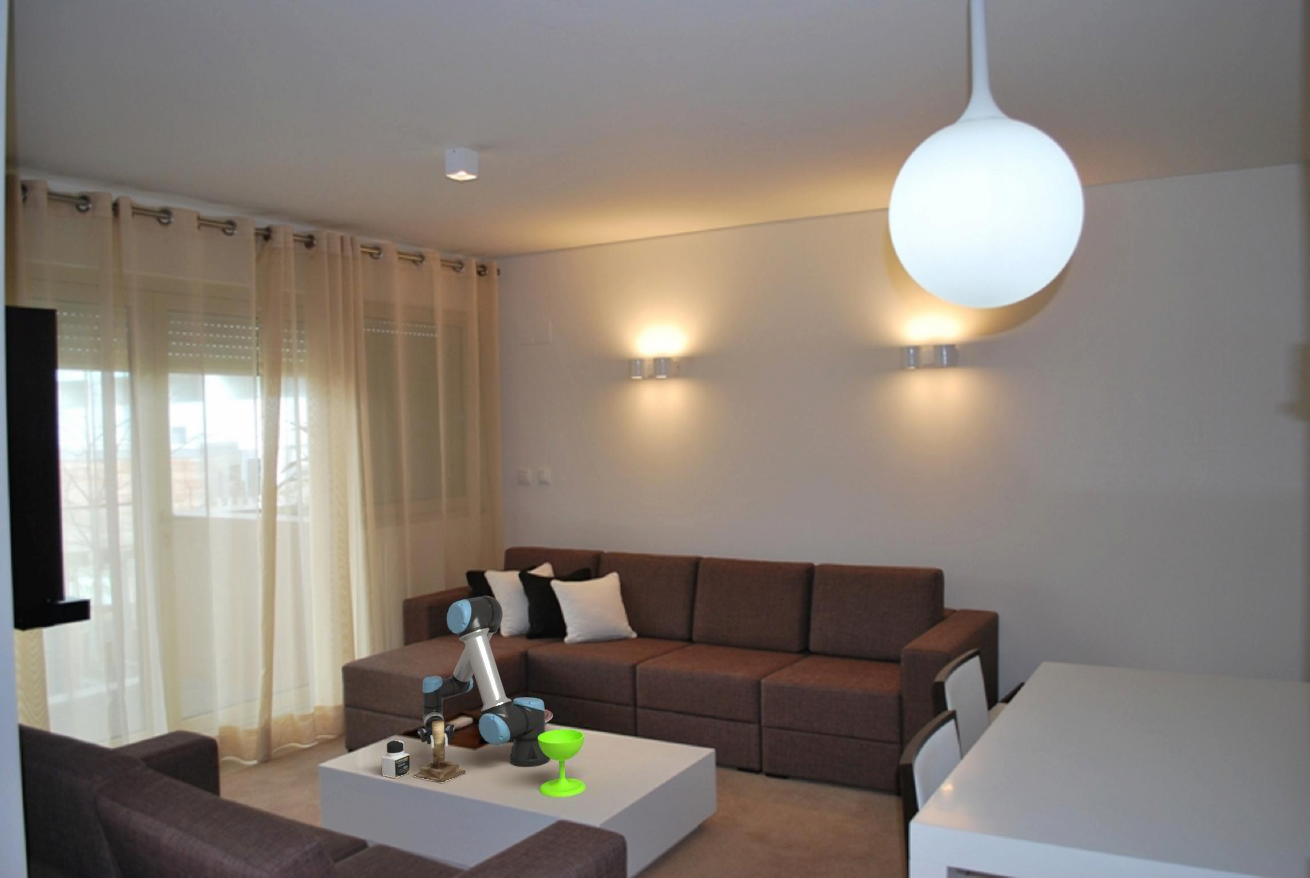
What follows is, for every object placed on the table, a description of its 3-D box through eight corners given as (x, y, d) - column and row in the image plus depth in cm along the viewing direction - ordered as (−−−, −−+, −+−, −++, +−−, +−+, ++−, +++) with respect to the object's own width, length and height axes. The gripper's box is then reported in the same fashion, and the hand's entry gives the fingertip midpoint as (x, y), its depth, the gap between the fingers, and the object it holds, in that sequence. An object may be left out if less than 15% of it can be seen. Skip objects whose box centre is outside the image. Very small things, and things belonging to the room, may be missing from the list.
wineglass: (588, 794, 325) (587, 741, 326) (541, 799, 322) (539, 745, 322) (582, 778, 341) (581, 727, 341) (537, 783, 338) (535, 731, 338)
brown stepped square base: (465, 773, 350) (465, 763, 350) (442, 783, 340) (442, 774, 340) (437, 767, 357) (437, 758, 357) (413, 777, 347) (413, 767, 347)
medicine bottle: (395, 779, 346) (394, 746, 346) (381, 776, 349) (380, 743, 349) (410, 773, 352) (409, 740, 352) (396, 770, 356) (395, 737, 356)
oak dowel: (447, 760, 350) (446, 721, 349) (438, 763, 346) (438, 724, 346) (438, 758, 352) (438, 720, 352) (430, 761, 348) (429, 723, 348)
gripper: (458, 732, 369) (464, 751, 346) (411, 737, 363) (415, 756, 341) (457, 712, 368) (463, 730, 346) (411, 717, 363) (414, 735, 341)
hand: (439, 743), depth 344 cm, fingers closed on oak dowel, 4 cm apart
